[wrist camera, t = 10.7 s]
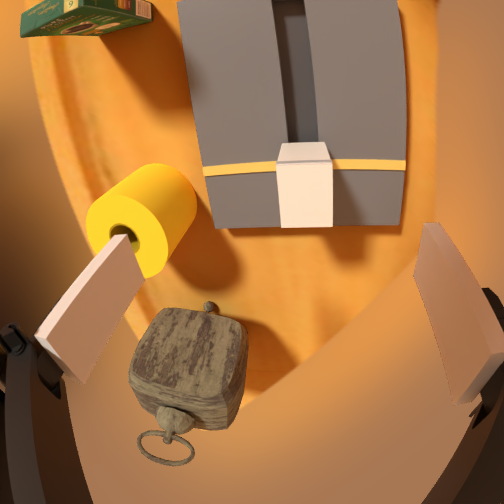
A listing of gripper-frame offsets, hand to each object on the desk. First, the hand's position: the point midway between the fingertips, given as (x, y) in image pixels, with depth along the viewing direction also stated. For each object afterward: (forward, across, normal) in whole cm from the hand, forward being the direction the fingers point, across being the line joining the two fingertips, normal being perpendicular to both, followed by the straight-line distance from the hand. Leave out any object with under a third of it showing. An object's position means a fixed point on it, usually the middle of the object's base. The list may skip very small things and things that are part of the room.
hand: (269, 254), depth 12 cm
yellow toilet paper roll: (+21, -17, -6) cm, 28 cm away
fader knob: (+21, +2, -2) cm, 21 cm away
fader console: (+21, +2, +4) cm, 22 cm away
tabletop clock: (+21, -14, -25) cm, 35 cm away
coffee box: (+22, -16, +18) cm, 33 cm away
